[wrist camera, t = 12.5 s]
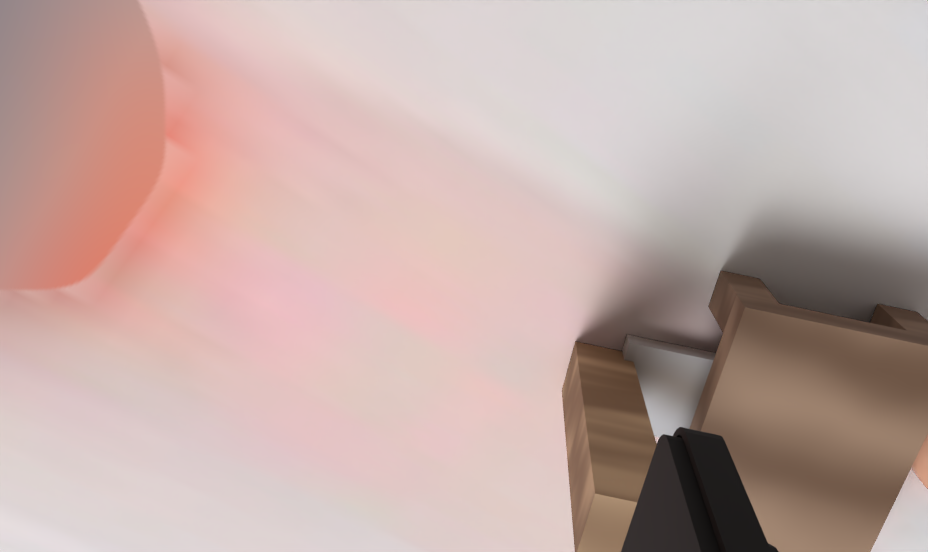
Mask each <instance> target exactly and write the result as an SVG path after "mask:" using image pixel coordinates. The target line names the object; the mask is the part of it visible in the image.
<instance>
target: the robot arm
mask: <svg viewBox="0 0 928 552" xmlns="http://www.w3.org/2000/svg"><path fill="white" fill-rule="evenodd" d="M621 552H778V550H777V548H776V547H774V546H772V545H771V544H768V542H767V540H766V537H765V535H764V533H763V530H762V528H761V526H760V523H759V521H758V519H757V516H756V514H755V511H754V509H753V507H752V504H751V502H750V500H749V497H748V495H747V493H746V490H745V488H744V485H743V483H742V481H741V478H740V476H739V474H738V471H737V469H736V466H735V464H734V462H733V459H732V457H731V455H730V452H729V450H728V448H727V445H726V443H725V440H724V439H723V437H722V436H720V435H716V434H712V433H707V432H702V431H697V430H693V429H688V428H683V427H679V428H678V429H676V431H675V432H674V434H673V436H670V435H665V434H663V435H661V437H660V438H659V440H658V443H657V445H656V448H655V451H654V454H653V457H652V460H651V463H650V466H649V469H648V472H647V475H646V478H645V481H644V484H643V487H642V490H641V493H640V496H639V499H638V502H637V505H636V508H635V511H634V514H633V517H632V520H631V523H630V526H629V529H628V532H627V535H626V538H625V541H624V544H623V547H622V550H621Z"/></svg>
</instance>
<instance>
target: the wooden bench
mask: <svg viewBox="0 0 928 552" xmlns="http://www.w3.org/2000/svg"><path fill="white" fill-rule="evenodd" d="M708 307H709V308H710V310H711V312H712V314H713V316H714V317H715V319H716V321H717V323H718V325H719V326H720V328H721V330H722V332H723V335H722V338H721V341H720V343H719V346H718V349H717V352H716V355H715V358H714V360H713V363H712V366H711V369H710V372H709V375H708V377H707V380H706V383H705V386H704V389H703V392H702V394H701V397H700V400H699V403H698V406H697V409H696V411H695V414H694V417H693V420H692V423H691V426H690V428H689V429H693V430H697V431H702V432H707V433H712V434H716V435H720V436H722V437H723V439H724V440H725V443H726V445H727V448H728V450H729V452H730V455H731V457H732V459H733V462H734V464H735V466H736V469H737V471H738V474H739V476H740V478H741V481H742V483H743V485H744V488H745V490H746V493H747V495H748V497H749V500H750V502H751V504H752V507H753V509H754V511H755V514H756V516H757V519H758V521H759V523H760V526H761V528H762V530H763V533H764V535H765V537H766V540H767V542H768V544H771V545H772V546H774V547H776V548H777V550H778V552H870V551H871V549H872V547H873V545H874V543H875V541H876V539H877V537H878V535H879V533H880V531H881V529H882V527H883V525H884V523H885V520H886V518H887V516H888V514H889V512H890V510H891V508H892V506H893V504H894V502H895V500H896V498H897V496H898V494H899V492H900V490H901V488H902V486H903V483H904V481H905V479H906V477H907V475H908V473H909V471H910V469H911V467H912V465H913V463H914V461H915V459H916V457H917V455H918V453H919V451H920V449H921V446H922V444H923V442H924V440H925V438H926V436H927V434H928V321H927V320H926V319H925V318H923V317H922V316H921V315H920V314H919V313H917V312H914V311H910V310H905V309H900V308H896V307H891V306H886V305H881V304H877V306H876V309H875V311H874V313H873V316H872V318H871V320H870V323H869V322H864V321H859V320H854V319H850V318H845V317H840V316H835V315H831V314H826V313H821V312H817V311H812V310H807V309H802V308H798V307H793V306H788V305H783V304H779V303H778V301H777V300H776V299H775V298H774V296H773V295H772V294H771V292H770V291H769V290H768V289H767V287H766V286H765V285H764V283H763V282H762V281H761V280H760V279H758V278H754V277H749V276H744V275H739V274H735V273H730V272H725V271H720V274H719V277H718V280H717V283H716V286H715V289H714V292H713V295H712V298H711V301H710V304H709V306H708Z"/></svg>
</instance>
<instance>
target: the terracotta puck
mask: <svg viewBox="0 0 928 552" xmlns="http://www.w3.org/2000/svg"><path fill="white" fill-rule="evenodd" d="M911 468H912V470H913V471H914V473H915V474H916V475H917V477H918V478H919V479H920V480H921V482H922V483H923V484H924V485H925V487H926V488H927V489H928V434H927V436H926V438H925V440H924V442H923V444H922V446H921V449H920V451H919V453H918V455H917V457H916V459H915V461H914V463H913V465H912V467H911Z"/></svg>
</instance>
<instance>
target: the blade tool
mask: <svg viewBox="0 0 928 552" xmlns="http://www.w3.org/2000/svg"><path fill="white" fill-rule="evenodd" d="M715 355H716V353H713V352H708V351H703V350H699V349H694V348H689V347H684V346H680V345H675V344H670V343H665V342H661V341H656V340H651V339H646V338H642V337H637V336H632V335H627V336H626V340H625V343H624V346H623V350H622V351H618V350H614V349H609V348H604V347H599V346H595V345H590V344H585V343H580V342H576V341H575V345H574V348H573V352H572V356H571V359H570V363H569V367H568V370H567V374H566V378H565V381H564V385H563V388H562V398H563V410H564V422H565V434H566V447H567V459H568V471H569V484H570V496H571V508H572V520H573V533H574V545H575V552H621V550H622V547H623V544H624V541H625V538H626V535H627V532H628V529H629V526H630V523H631V520H632V517H633V514H634V511H635V508H636V505H637V502H638V499H639V496H640V493H641V490H642V487H643V484H644V481H645V478H646V475H647V472H648V469H649V466H650V463H651V460H652V457H653V454H654V451H655V448H656V445H657V444H656V441H655V437H654V436H656V437H661V435H663V434H665V435H670V436H673V434H674V432H675V431H676V429H678V428H679V427H683V428H688V429H689V428H690V426H691V423H692V420H693V417H694V414H695V411H696V409H697V406H698V403H699V400H700V397H701V394H702V392H703V389H704V386H705V383H706V380H707V377H708V375H709V372H710V369H711V366H712V363H713V360H714V358H715Z"/></svg>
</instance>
